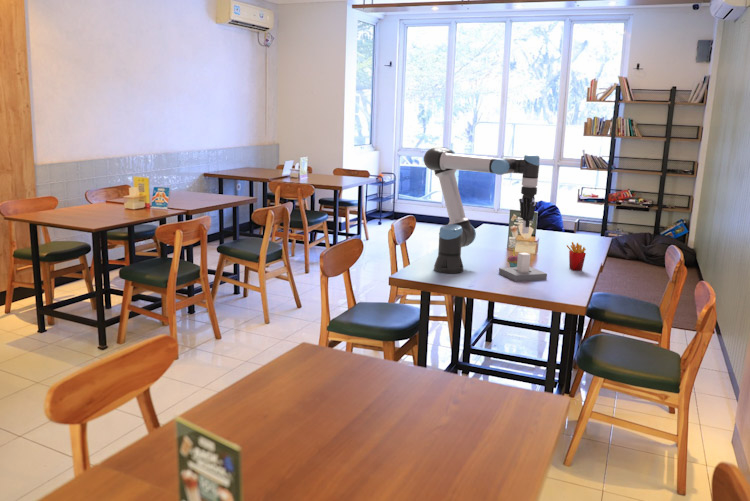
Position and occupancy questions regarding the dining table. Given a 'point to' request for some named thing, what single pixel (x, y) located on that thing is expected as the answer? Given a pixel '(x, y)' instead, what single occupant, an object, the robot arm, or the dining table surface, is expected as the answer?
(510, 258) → the cupcake
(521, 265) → the plug
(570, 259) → the french fries
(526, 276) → the socket
